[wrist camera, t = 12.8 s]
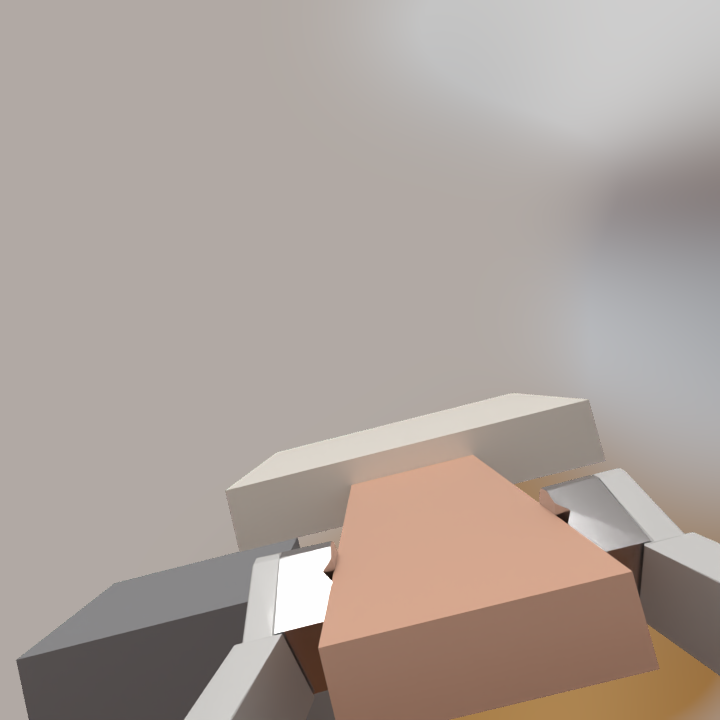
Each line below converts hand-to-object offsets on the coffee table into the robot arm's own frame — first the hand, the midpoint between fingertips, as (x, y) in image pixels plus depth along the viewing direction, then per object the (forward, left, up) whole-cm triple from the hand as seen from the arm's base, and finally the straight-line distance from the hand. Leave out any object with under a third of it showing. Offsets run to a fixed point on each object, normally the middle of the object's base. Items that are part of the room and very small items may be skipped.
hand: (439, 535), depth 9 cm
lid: (+5, 0, -1) cm, 5 cm away
